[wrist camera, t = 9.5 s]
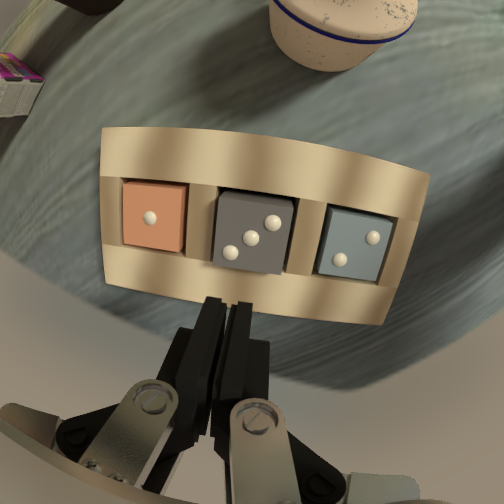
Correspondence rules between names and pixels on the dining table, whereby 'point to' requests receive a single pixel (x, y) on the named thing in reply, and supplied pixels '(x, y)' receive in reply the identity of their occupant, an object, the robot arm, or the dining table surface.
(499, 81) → the dining table surface
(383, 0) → the teacup with lid
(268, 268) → the key three
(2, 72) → the candy bar box
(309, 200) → the wooden puzzle board
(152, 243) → the key one
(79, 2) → the bottle
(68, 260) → the dining table surface
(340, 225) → the key two
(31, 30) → the dining table surface
